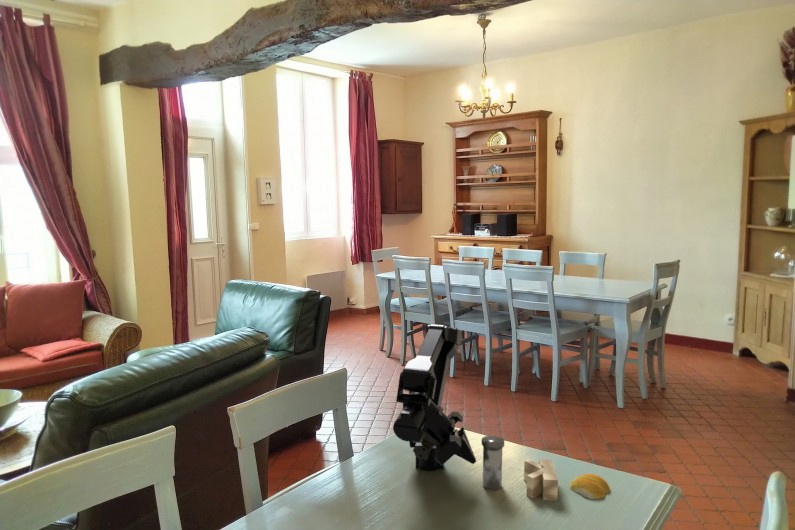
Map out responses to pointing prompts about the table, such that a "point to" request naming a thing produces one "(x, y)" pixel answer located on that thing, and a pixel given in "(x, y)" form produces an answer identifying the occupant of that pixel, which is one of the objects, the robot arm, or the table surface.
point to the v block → (541, 479)
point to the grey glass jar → (492, 462)
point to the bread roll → (590, 486)
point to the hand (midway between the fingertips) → (474, 462)
